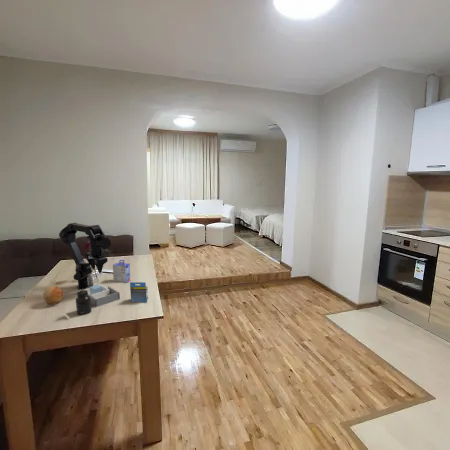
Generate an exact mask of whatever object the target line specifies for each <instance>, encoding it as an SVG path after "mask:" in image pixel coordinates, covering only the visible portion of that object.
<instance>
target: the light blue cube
mask: <svg viewBox="0 0 450 450" xmlns="http://www.w3.org/2000/svg"><path fill="white" fill-rule="evenodd" d="M100 285H101V284H96V285H93V286H92V287H90V295H92V294H96V293H99V292H102V287H101V286H100Z"/></svg>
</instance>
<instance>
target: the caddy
mask: <svg viewBox="0 0 450 450" xmlns="http://www.w3.org/2000/svg"><path fill="white" fill-rule="evenodd" d="M93 278H94V277H93V273H90V274H88V285H89V286H88V288H85V289H83V290H87V291H88V294H90V287H92V286H94V280H93ZM99 285H100V286H101V287H102V292H99V293H96V294H92V295H91V296H92V297H94V298H95V299H98V298H101V297H104V296H108V295H110V290H109V289H108V287H106V286H105V285H103V284H99Z"/></svg>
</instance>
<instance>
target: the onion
mask: <svg viewBox="0 0 450 450" xmlns="http://www.w3.org/2000/svg"><path fill="white" fill-rule="evenodd" d="M64 295H65V294H64V291H63V288H61V287H59V286H57V285H52V286H49V287H48V288H46V290H45V291H44V292H43V296H42V299H43V300H44V302H45V303H46V304H47V305H57V304H59V303H60V302H62V300H63V298H64Z"/></svg>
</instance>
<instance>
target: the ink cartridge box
mask: <svg viewBox="0 0 450 450" xmlns="http://www.w3.org/2000/svg"><path fill="white" fill-rule="evenodd" d="M130 264H131V263H127V262H126V261H125V259H119V261H118V262H116V263H114V264H112V275H113V276H112V277H113V278H112V279H113V283H116V282H121V283H123V284H127V283H130V282H131V265H130Z"/></svg>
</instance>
